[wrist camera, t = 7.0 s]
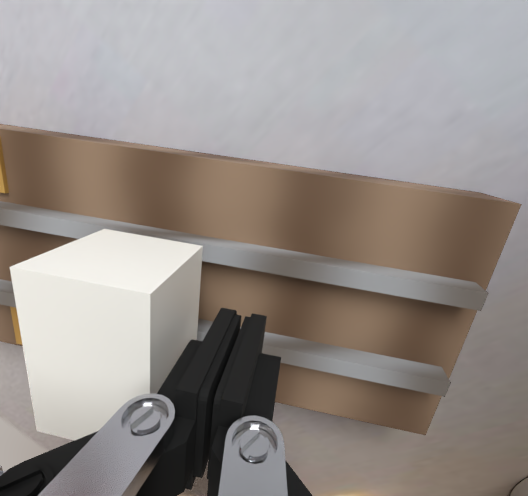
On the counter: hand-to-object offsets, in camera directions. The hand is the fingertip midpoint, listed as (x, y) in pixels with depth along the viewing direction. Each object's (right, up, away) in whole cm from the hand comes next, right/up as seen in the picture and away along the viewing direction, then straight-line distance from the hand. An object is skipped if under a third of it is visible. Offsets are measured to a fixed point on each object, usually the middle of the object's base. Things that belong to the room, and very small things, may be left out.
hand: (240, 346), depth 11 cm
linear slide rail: (-3, +3, +7) cm, 8 cm away
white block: (-3, +2, +4) cm, 5 cm away
